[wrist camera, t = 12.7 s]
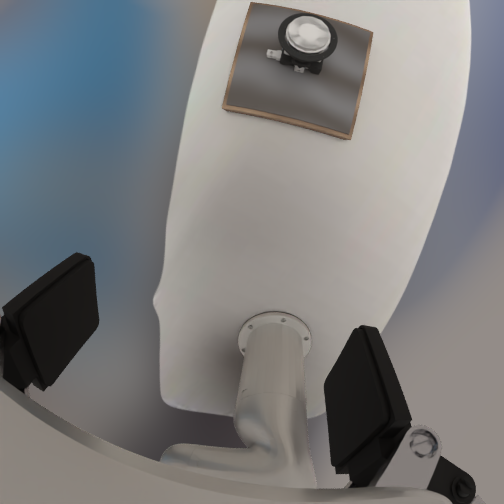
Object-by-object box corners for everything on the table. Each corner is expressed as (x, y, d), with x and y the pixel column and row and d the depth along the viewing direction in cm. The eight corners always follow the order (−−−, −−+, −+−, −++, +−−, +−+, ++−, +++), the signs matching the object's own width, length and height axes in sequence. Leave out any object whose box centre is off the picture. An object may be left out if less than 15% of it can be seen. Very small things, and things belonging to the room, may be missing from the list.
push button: (263, 74, 28) (256, 47, 18) (272, 37, 26) (268, 1, 16) (319, 86, 28) (335, 64, 18) (326, 49, 25) (343, 17, 16)
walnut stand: (344, 139, 33) (351, 139, 30) (227, 111, 33) (221, 107, 30) (366, 40, 27) (374, 31, 23) (253, 12, 27) (250, 0, 23)
